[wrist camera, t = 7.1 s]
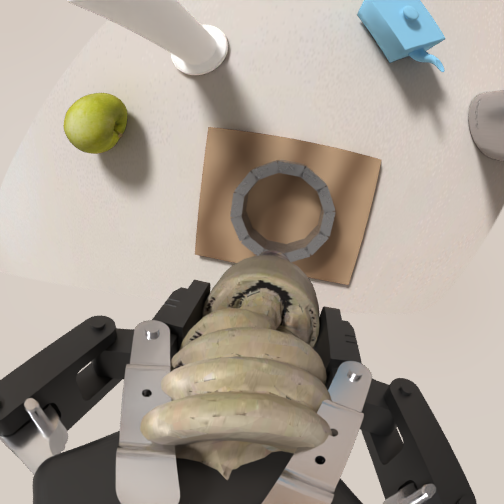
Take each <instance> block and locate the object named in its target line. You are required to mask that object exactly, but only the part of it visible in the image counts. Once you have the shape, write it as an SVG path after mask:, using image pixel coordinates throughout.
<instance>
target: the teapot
mask: <svg viewBox="0 0 504 504" xmlns="http://www.w3.org/2000/svg"><path fill="white" fill-rule="evenodd" d="M357 15H358V17H359V18H360V19H361V21H362V22H363V24H364V25H365V26H366V28H367V29H368V31H369V32H370V33H371V35H372V36H373V38H374V39H375V41H376V42H377V44H378V45H379V47H380V48H381V50H382V51H383V53H384V55H385V56H386V58H387V59H388V61H389V63H391V62H393V61H396V60H399V59H402V58H405V57H408V56H410V57H411V58H413V59H414V60H416V61H419V62H429V63H432V64H434V65H435V66H436V67H437V68H438V69H439V70H440V71H441V72H444V67H443V65H442V63H441V62H440V60H439V59H438V58H437V57H435V56H433V55H430V54H428V53H427V52H426V51H427V50H428V49H430V48H432V47H433V46H435V45H436V44H438V43H440V42H441V41H443V40H445V37H444V35H443V33H442V32H441V30H440V28H439V27H438V25H437V24H436V22H435V21H434V19H433V18H432V16H431V15H430V13H429V12H428V11H427V9H426V8H425V6H424V5H423V4H422V2H421V1H420V0H364V1H363V4H362V6H361V8H360V10H359V12H358V14H357Z"/></svg>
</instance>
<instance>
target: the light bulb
mask: <svg viewBox="0 0 504 504" xmlns="http://www.w3.org/2000/svg"><path fill="white" fill-rule="evenodd" d="M319 328H320V324H319V305H318V301H317V297H316V293H315V290H314V287H313V285H312V283H311V281H310V280H309V278H308V277H307V275H306V274H305V273H304V272H303V271H302V270H301V269H300V268H299V267H298V266H297V265H295V264H293V263H291V262H290V261H289V259H288V257H287V256H286V255H285V254H284V253H282V252H280V251H275V250H267V251H263V252H261V254H260V255H259V256H253V257H249V258H246V259H243V260H242V261H240V262H238V263H236V264H234V265H233V266H232V267H230V268H229V269H228V270H227V271H226V272H225V273H224V274H223V276H222V277H221V278H220V280H219V281H218V282H217V284H216V285H215V286H214V288H213V289H212V291H211V293H210V294H209V296H208V298H207V300H206V301H205V304H204V307H203V311H202V319H201V320H200V321H199V322H198V323H197V324H196V325H195V326H193V327H192V328H191V329H190V330H189V332H188V333H187V335H186V336H185V338H184V340H183V341H182V344H181V347H180V350H179V352H178V353H176V354H175V355H174V356H173V358H172V359H171V361H170V368H171V372H170V373H168V374H167V375H166V376H164V377H163V379H162V381H161V389H162V390H163V391H164V392H165V393H166V394H167V395H169V396H170V397H171V400H172V401H170V402H168V403H165V404H162V405H159V406H156V407H155V408H153V409H152V410H151V411H149V412H148V413H147V414H146V415H145V416H144V417H143V419H142V421H141V426H140V430H141V432H142V434H143V436H144V437H145V438H146V439H148V440H150V441H153V442H155V443H158V444H162V445H175V451H176V458H183V459H189V460H194V461H199V462H202V463H203V464H205V465H207V466H210V467H212V468H214V469H217V470H218V471H219V472H220V473H221V474H222V476H223V477H224V478H225V479H226V480H228V479H229V476H230V474H231V471H232V469H237V468H238V467H240V466H241V465H244V464H246V463H250V462H253V461H256V460H259V459H262V458H264V457H266V456H267V455H269V454H270V453H271V452H277V451H285V452H289V453H294V452H295V451H296V449H297V448H298V447H317V446H319V445H321V444H323V443H324V442H325V441H326V439H327V438H328V436H329V435H330V436H333V435H332V431H331V429H330V427H329V425H328V423H327V421H326V420H324V419H323V418H322V417H321V416H320V415H318V414H317V412H318V410H319V408H320V406H321V404H322V402H323V401H324V400H326V399H328V400H331V396H330V393H329V392H328V390H327V388H326V387H325V385H326V369H325V367H324V364H323V362H322V359H321V358H320V356H319V354H318V353H317V352H316V351H315V350H314V349H313V348H314V347H315V345H316V343H317V339H318V336H319ZM331 401H332V400H331Z"/></svg>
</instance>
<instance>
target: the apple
mask: <svg viewBox="0 0 504 504" xmlns="http://www.w3.org/2000/svg"><path fill="white" fill-rule="evenodd" d="M126 123H127V109H126V107H125V105H124V104H123V102H122V101H121V100H120V99H118V98H117V97H115V96H113V95H111V94H107V93H95V94H90V95H87V96H84V97H82V98H80V99H79V100H77V101H76V102H75V103H74V104H73V105H72V106H71V107H70V108H69V109H68V111H67V113H66V116H65V120H64V131H65V134H66V136H67V138H68V139H69V141H70V142H71V143H72V144H73V145H74V146H75V147H76V148H78V149H79V150H81V151H83V152H87V153H93V154H98V153H103V152H106V151H108V150H110V149H111V148H112V147H113V146H115V144H116V143H117V142H118V140H119V139H120V138H121V137H122V136H123V132H124V130H125V128H126Z"/></svg>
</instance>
